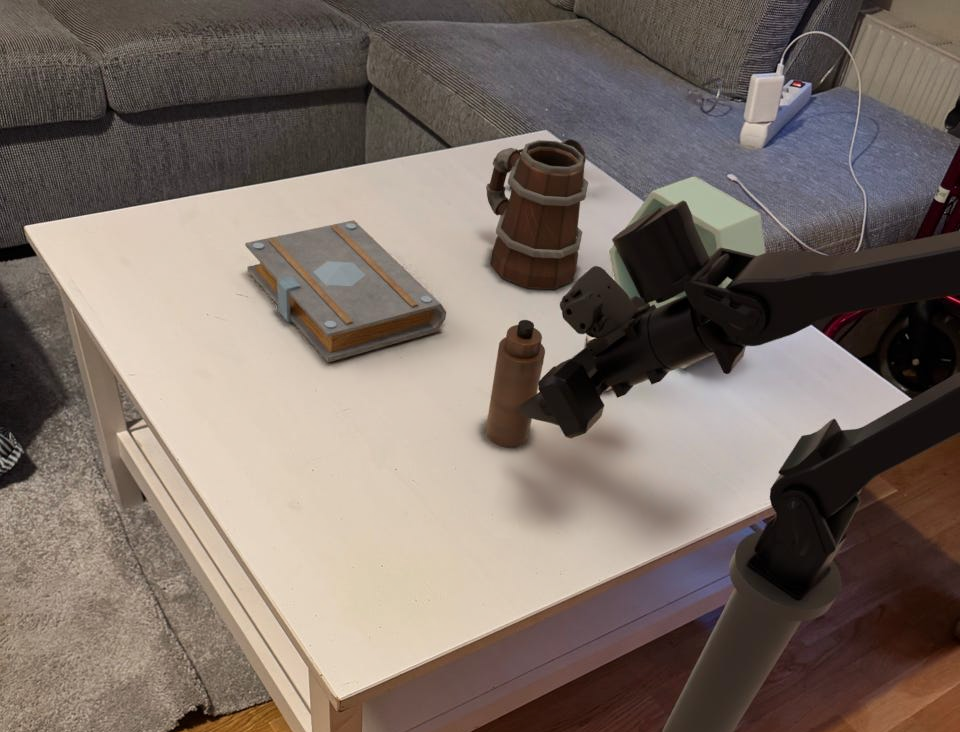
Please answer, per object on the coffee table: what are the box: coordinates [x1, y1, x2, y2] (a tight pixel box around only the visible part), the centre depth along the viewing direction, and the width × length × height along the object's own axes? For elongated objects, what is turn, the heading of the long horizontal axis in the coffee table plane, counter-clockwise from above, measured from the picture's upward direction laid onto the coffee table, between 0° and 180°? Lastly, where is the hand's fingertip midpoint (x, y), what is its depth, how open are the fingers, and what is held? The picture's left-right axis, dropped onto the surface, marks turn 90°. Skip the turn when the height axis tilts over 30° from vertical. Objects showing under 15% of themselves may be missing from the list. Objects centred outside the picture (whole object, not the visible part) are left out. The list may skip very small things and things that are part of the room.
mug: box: [485, 139, 589, 290], centre depth 120 cm, size 16×12×15 cm
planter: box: [609, 175, 766, 370], centre depth 111 cm, size 17×8×21 cm
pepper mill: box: [485, 319, 546, 448], centre depth 97 cm, size 5×5×14 cm
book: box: [244, 219, 447, 363], centre depth 112 cm, size 21×16×5 cm
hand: (543, 390), depth 95 cm, fingers open, 9 cm apart
